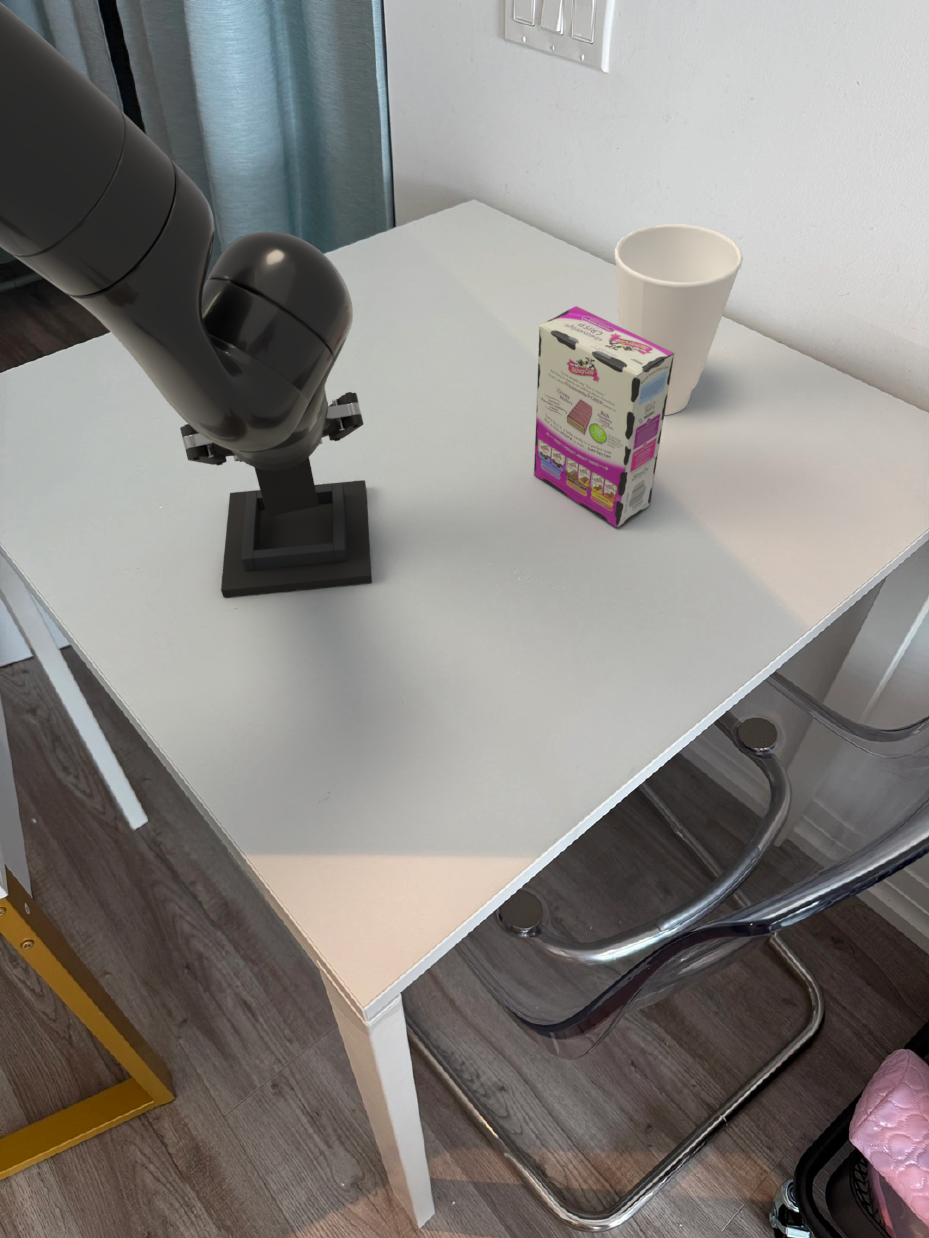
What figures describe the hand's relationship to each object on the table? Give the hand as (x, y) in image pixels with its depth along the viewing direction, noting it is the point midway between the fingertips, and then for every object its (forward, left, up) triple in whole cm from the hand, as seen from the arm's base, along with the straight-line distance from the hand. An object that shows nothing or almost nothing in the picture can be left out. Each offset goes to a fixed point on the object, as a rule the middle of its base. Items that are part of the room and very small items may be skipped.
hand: (276, 445), depth 78 cm
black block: (0, -2, -4) cm, 4 cm away
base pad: (0, -2, -9) cm, 10 cm away
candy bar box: (+28, +1, -10) cm, 30 cm away
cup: (+38, +15, -10) cm, 42 cm away
